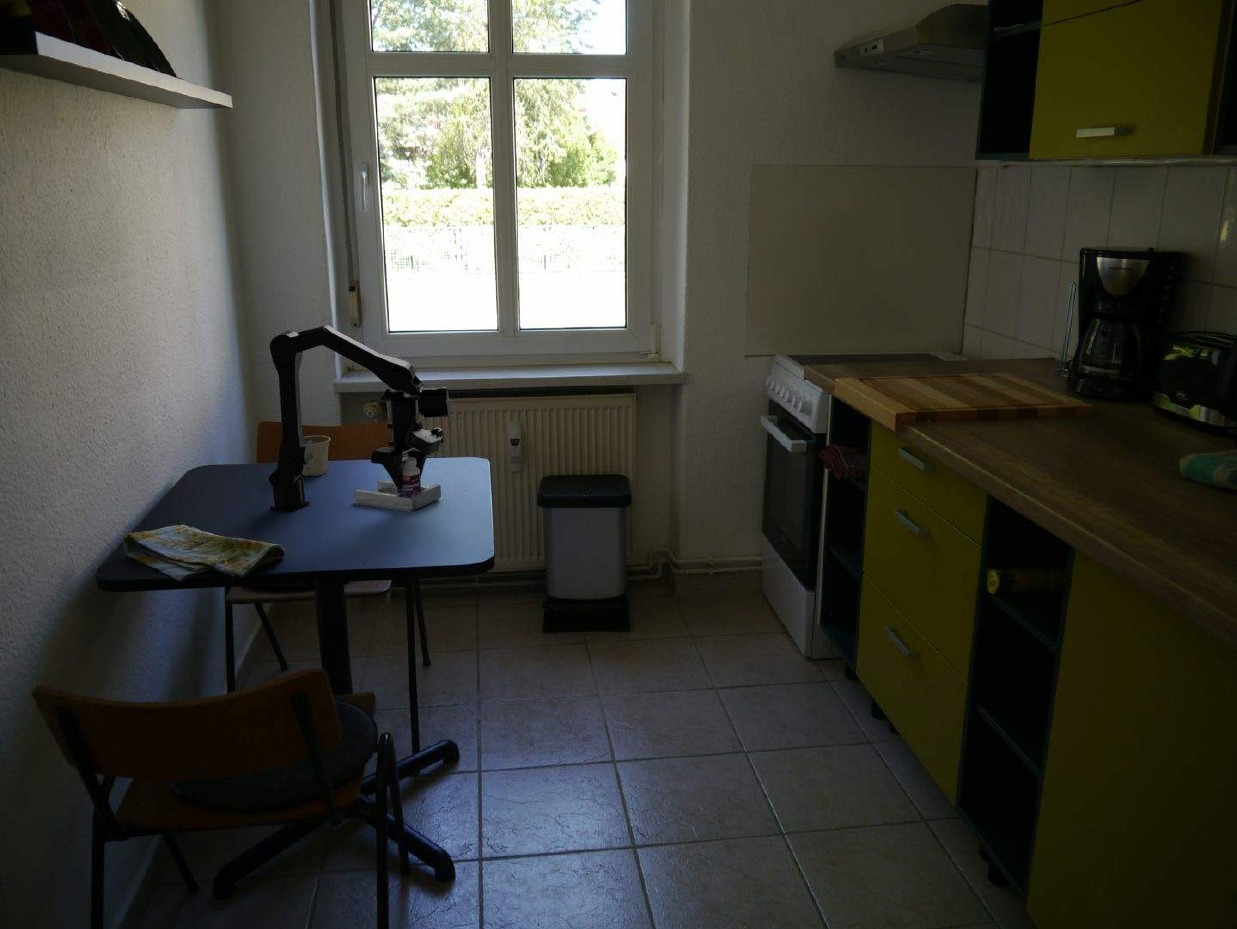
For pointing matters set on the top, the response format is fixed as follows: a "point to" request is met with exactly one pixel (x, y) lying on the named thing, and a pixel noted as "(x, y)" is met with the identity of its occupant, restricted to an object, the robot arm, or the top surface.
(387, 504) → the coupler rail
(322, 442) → the flower pot
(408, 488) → the pill bottle
